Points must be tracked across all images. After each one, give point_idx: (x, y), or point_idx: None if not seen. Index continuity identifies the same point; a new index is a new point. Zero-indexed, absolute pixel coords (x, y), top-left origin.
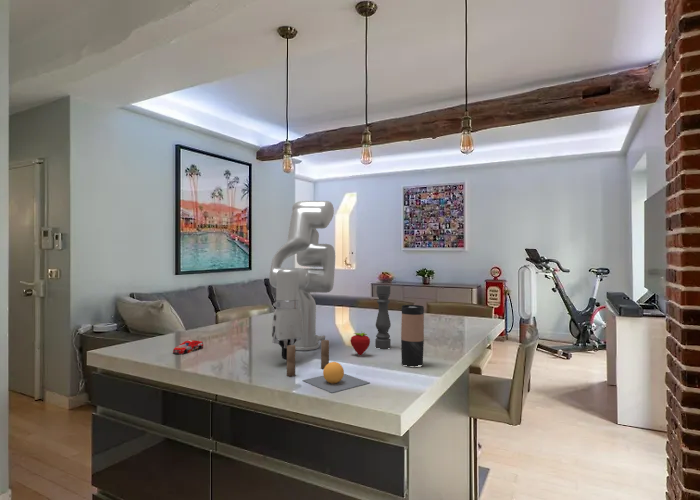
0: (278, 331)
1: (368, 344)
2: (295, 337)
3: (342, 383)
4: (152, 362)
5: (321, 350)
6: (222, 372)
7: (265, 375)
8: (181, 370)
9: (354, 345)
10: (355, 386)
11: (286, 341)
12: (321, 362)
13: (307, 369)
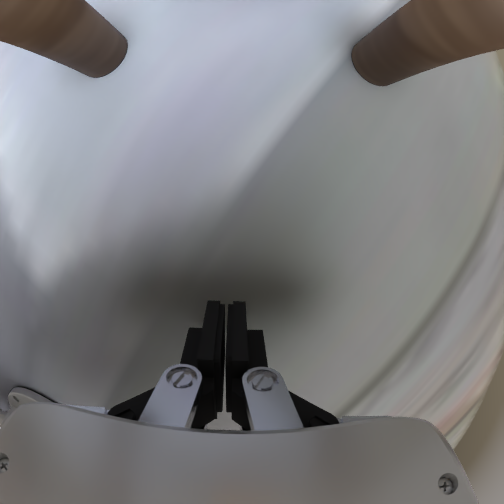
0: (474, 495)
1: None
2: (127, 426)
3: None
4: (451, 445)
5: (59, 4)
6: (486, 326)
7: (459, 173)
8: (488, 385)
9: None
10: None
11: (261, 425)
12: (109, 37)
13: (205, 85)
